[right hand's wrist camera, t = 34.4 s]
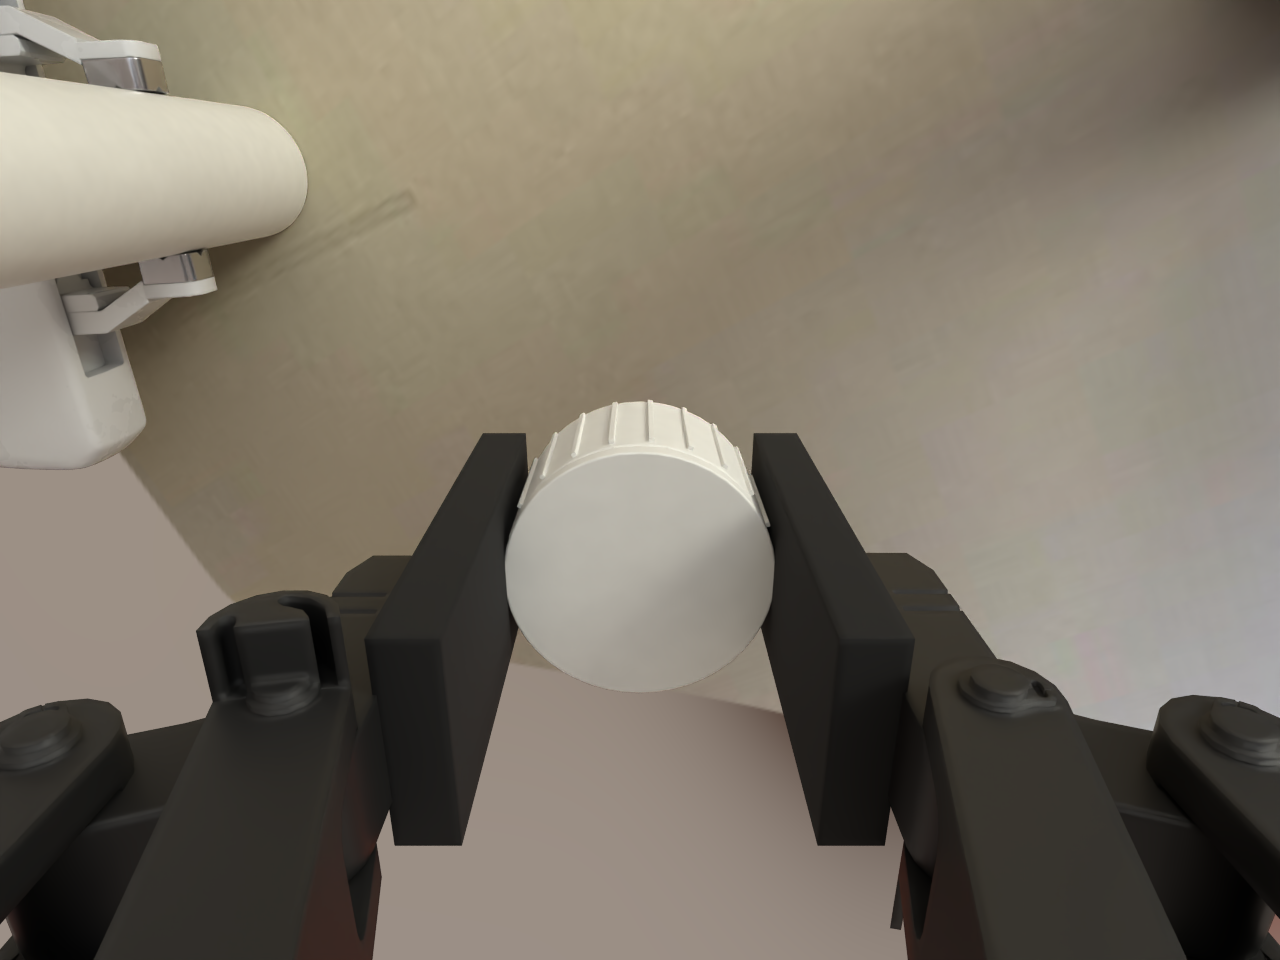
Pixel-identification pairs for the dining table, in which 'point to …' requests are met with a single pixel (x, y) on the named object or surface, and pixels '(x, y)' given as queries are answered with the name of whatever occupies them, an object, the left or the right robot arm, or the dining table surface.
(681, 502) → the cap
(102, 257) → the bottle
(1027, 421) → the dining table surface
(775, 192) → the dining table surface
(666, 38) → the dining table surface
